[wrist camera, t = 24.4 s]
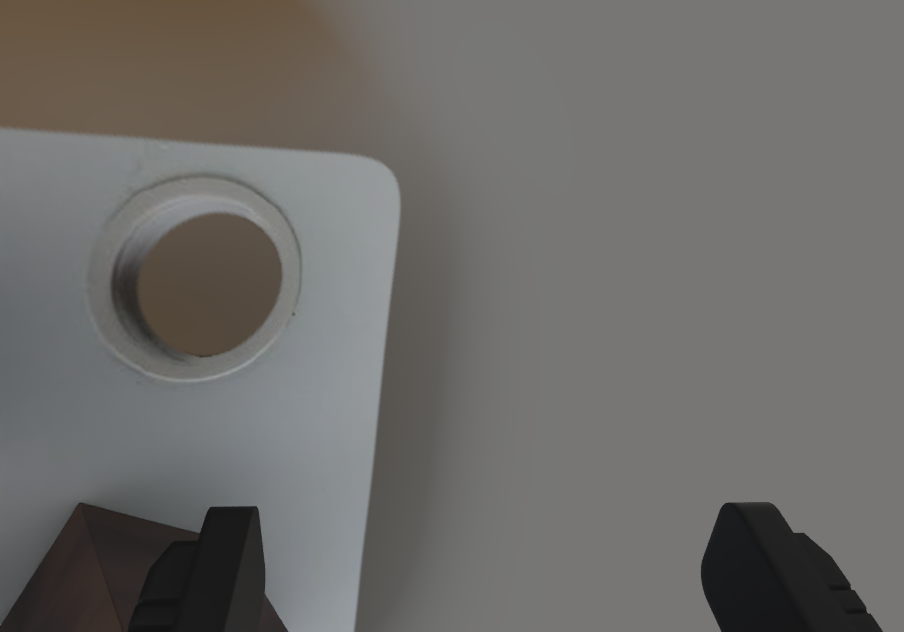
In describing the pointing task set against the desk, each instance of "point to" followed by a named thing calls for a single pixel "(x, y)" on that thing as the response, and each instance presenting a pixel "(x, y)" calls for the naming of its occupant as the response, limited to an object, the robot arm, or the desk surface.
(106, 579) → the plant stand
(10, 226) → the desk surface
